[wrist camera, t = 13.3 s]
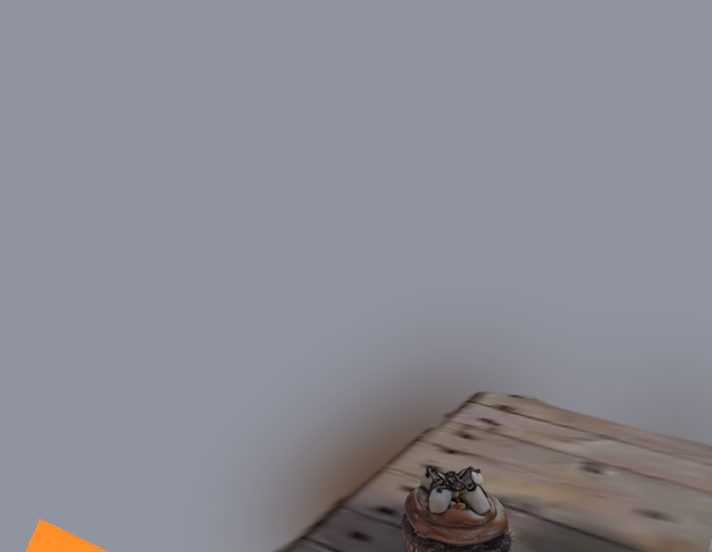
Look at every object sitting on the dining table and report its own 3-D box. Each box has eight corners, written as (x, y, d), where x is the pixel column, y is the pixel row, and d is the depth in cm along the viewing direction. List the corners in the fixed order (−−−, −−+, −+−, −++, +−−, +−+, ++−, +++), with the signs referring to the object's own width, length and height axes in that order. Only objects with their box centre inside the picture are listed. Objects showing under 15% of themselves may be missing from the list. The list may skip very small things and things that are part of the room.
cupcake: (421, 627, 53) (432, 513, 51) (385, 553, 62) (392, 453, 60) (530, 611, 55) (544, 502, 53) (479, 542, 64) (489, 446, 62)
